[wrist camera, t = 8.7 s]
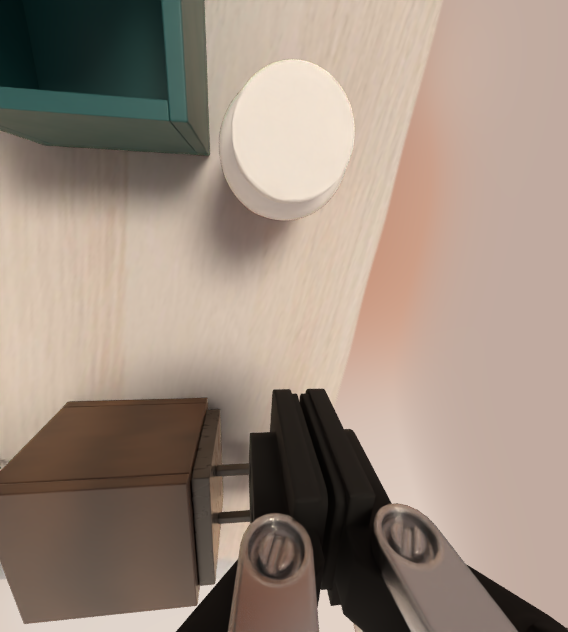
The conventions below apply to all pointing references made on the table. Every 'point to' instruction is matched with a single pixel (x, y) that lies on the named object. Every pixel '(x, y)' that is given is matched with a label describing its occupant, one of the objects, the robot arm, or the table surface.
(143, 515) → the cabinet
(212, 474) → the rack drawer
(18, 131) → the chest
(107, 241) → the table surface
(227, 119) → the pill bottle
